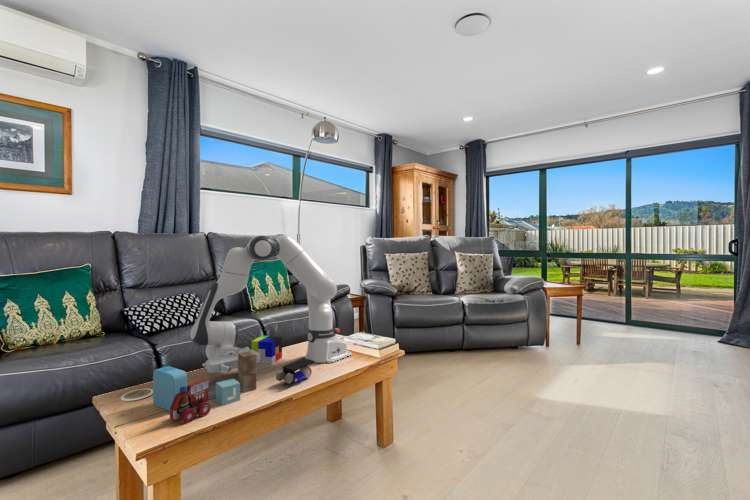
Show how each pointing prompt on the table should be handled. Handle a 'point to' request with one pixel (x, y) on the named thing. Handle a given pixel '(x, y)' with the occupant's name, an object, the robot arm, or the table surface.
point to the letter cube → (227, 391)
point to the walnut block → (247, 371)
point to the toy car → (291, 375)
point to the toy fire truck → (191, 401)
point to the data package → (167, 385)
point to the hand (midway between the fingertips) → (241, 366)
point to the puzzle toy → (268, 348)
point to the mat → (213, 389)
